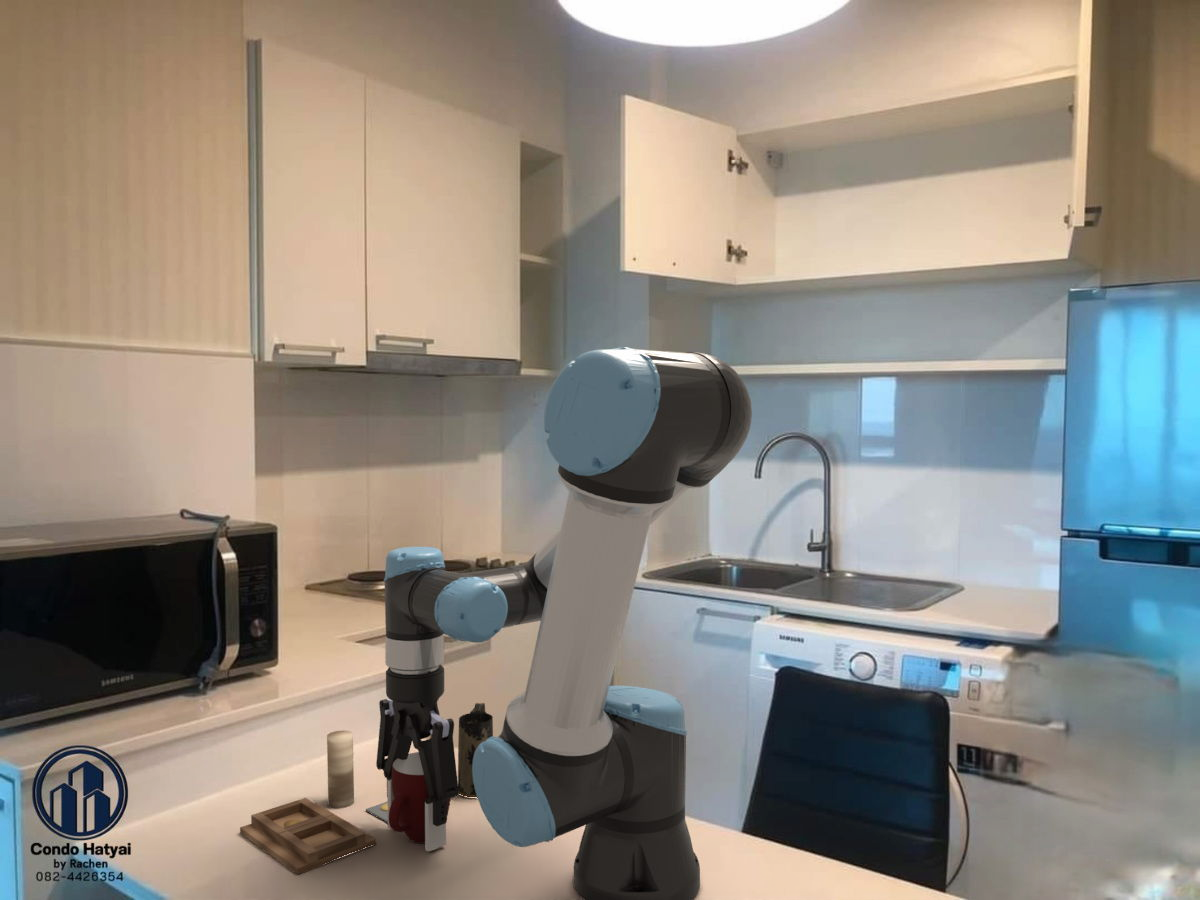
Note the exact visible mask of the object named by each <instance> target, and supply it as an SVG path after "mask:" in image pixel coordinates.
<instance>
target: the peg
mask: <svg viewBox="0 0 1200 900" xmlns="http://www.w3.org/2000/svg"><path fill="white" fill-rule="evenodd" d="M326 746H327V747H326V750H327V751H326V753H327V758H326V759H327V801H328V802H327V805H328V807H330V808H332V807H333V808H332V809H343V808H342V807H345V808H347V806H348V807H351V806H352V805H353V804H354V803H355V776H354V774H355V773H354V770H355V769H354V768H355V767H354V732H353V731H351V730H345V729H344V730H336V731H332V732H330V733H327V735H326Z"/></svg>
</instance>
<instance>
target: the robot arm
mask: <svg viewBox="0 0 1200 900" xmlns="http://www.w3.org/2000/svg"><path fill="white" fill-rule="evenodd" d="M752 416H753V411H752V402H751V395H750V394H749V389H748V388H747V386H746V383H744V381H743V379H742V377H741V376H740V375H739V374H738V372H736V370H735V369H734V368H732V366H730V365H729V364H728V363H727V362H725V361H723V360H722V359H720V358H718V357H717V356H714V355H711V354H707V353H704V352H696V351H685V352H682V351H667V350H653V349H639V348H638V349H637V348H630V347H628V346H625V347H624V346H623V347H615V348H610V349H609V348H608V349H595V350H590V351H589V350H588V351H587V352H584V353H581V354H580V355H579V356H577V357H576V358H575V359H573V360H571V361H570V362H569V363H567V365H565V366H564V367H563V368H562V370H561V371H560V372H559V374H557V377H556V378H555V379H554V382H553V383H552V385H551V388H550V390H549V393H548V395H547V399H546V403H545V408H544V416H543V430H544V432H545V433H547V434H549V435H548V438H547V439H546V441H545V442H546V444H547V448H548V450H549V452H550V454H551V456H552V458H553V459H554V460H555V462H557V463H558V468H557V476H558V478H559V479H560V481H561V482H562V484H563V485H564V487H565V488H566V490H567V491H568V495H567V500H566V504H565V508H564V513H563V518H562V522H561V525H560V528H558V530H557V531H556V532H555V533H554V534H553V535H552V536H551V537H550V538H549V539H548V540H547V541H546V542H545V544H543V546H542V547H541V548H540V549H539V550H538V551H537V552H536V553H535V554H534V555H533V556H532V557H531V558H529V560H528V561H526V562H525V563H523V564H518V565H512V566H504V567H500V568H494V569H493V568H492V569H485V570H479V571H471V572H464V573H463V572H462V573H460V572H452V571H449V570H446V569H445V568H446V564H445V561H444V554H443V553H442V550H441V549H440V548H436V547H433V546H407V547H406V546H405V547H398V548H396V549H392V550H391V551H390V552H389V553H387V555H386V557H385V572H384V573H385V575H384V578H383V583H384V612H385V613H384V614H385V616H384V617H385V618H384V619H385V637H384V638H385V641H384V642H385V649H384V650H385V653H384V654H385V656H384V658H385V659H384V660H385V661H384V662H385V665H386V666H387V667H388V668H387V669H386V670H385V694H386V697H387V698H385V699H380V701H379V702H378V705H379V715H380V721H379V729H378V730H379V732H378V741H377V752H376V753H377V754H376V762H375V763H376V764H375V765H376V768H377V770H379V771H381V770H382V771H383V775H384V778H385V779H386V797H387V801H388V823H387V828H388V829H390V830H393V829H392V828H391V827H390V824H389V810H390V806H391V804H392V801H393V800H394V794H393V789H392V764H393V762H394V761H395V760H396V759H398V758H399V759H401V760H406V759H407V758H408V754H410V750H411V747H412V745H413V748H414V749H416V750H417V752H419V756H420V760H421V765H422V769H423V773H424V777H425V782H426V786H427V790H428V795H429V798H428V799H426V800H425V843H424V850H425V851H426V852H431V851H434V850H436V849H439V848H441V847H443V846H446V845H447V823H448V816H447V799H450V798H451V799H452V798H456V797H458V796H459V791H458V771H457V764H456V763H457V762H456V756H455V746H454V730H455V722H454V720H453V719H452V717H451V718H447V719H445V718H443V717H441V715H440V711H439V708H438V706H439V705H438V701H439V699H440V698H441V697H442V696H443V695H444V693H445V668H444V666H443V663H444V661H445V654H444V653H445V652H444V651H445V649H444V648H445V647H444V645H445V644H444V642H445V641H444V635H445V636H448V637H450V638H452V639H454V640H458V641H461V642H469V643H483V642H487V641H489V640H491V639H492V638H493V637H494V636H495V635H497V634H498V633H499V632H500V631H501V630H503V629H505V628H511V627H513V626H519V625H524V624H529V623H534V622H540V623H539V628H538V632H537V636H536V637H537V638H536V641H535V645H534V650H533V655H532V659H531V665H530V669H529V672H528V678H527V683H526V687H525V691H524V692H521V693H519V694H517V695H516V696H515V697H513V698H512V699H511V700H510V702H509V704H508V705H507V707H506V708H507V709H506V712H505V716H504V721H503V725H502V729H501V733H500V734H499V735H498V736H493V737H490V738H488V739H487V740H486V741H484V742H482V743H481V744H480V745H479V746H478V747H477V749H476V751H475V753H474V757H473V764H472V774H473V782H474V788H475V792H476V795H477V798H478V799H477V800H478V802H479V806H480V808H481V811H482V813H483V814H484V817H485V818H486V820H487V822H488V824H489V825H490V826H491V828H492V829H493V830H494V831H495V833H497V835H498V836H499V837H500V838H502V840H504V841H505V842H507V843H508V844H510V845H513V846H516V847H520V848H524V847H525V848H526V847H531V846H533V845H534V846H535V845H537V844H540V843H544V842H545V843H548V842H550V841H553V840H554V839H556V838H558V837H560V836H562V835H565V834H567V833H570V832H572V831H575V830H576V829H580V828H582V827H583V826H584V831H583V833H582V836H581V840H580V844H579V848H578V852H577V853H576V856H575V858H574V861H573V888H574V891H576V893H577V894H578V895H577V896H579V897H580V898H581V900H693V899H694V898H696V896H697V895H698V893H699V891H700V887H701V868H700V866H701V865H700V861H699V859H698V858H699V857H698V856H697V855H696V853H695V851H694V848H693V843H692V838H691V834H690V831H689V827H688V823H687V822H686V770H687V769H686V766H687V765H686V762H687V760H686V758H687V757H686V756H687V755H686V754H687V751H686V750H687V748H686V747H687V744H686V743H687V740H686V739H687V734H688V732H687V730H686V721H685V717H686V716H685V709H684V706H683V704H682V702H680V700H678V698H677V697H675V696H673V695H671V694H670V693H666V692H664V691H661V690H657V689H652V688H646V687H640V686H633V685H632V686H631V685H611V683H612V679H613V674H614V669H615V666H616V661H617V658H618V653H619V651H620V650H619V649H620V645H621V641H622V638H623V633H624V630H625V629H624V628H625V625H626V621H627V618H628V617H627V616H628V614H629V610H630V605H631V601H632V598H633V593H634V590H635V586H636V585H635V584H636V581H637V577H638V573H639V569H640V564H641V561H642V556H643V553H644V549H645V545H646V540H647V537H648V533H649V529H650V526H651V525H652V524H653V523H654V522H655V521H656V520H658V518H660V516H662V514H663V513H665V512H666V510H668V509H669V508H670V507H671V506H672V505H673V504H674V503H675V502H676V501H678V499H679V498H680V497H682V495H683V494H685V493H686V492H687V491H688V490H689V489H701V488H703V487H705V486H707V485H708V484H709V483H710V482H711V481H713V479H714V478H716V476H718V475H719V474H721V472H722V471H723V470H724V469H725V468H726V467H727V466H728V465H729V464H730V463H731V462H732V461H733V460H734V458H735V457H736V456H737V455H738V454H739V452H740V450H741V449H742V448H743V446H744V445H745V442H746V440H747V438H748V435H749V433H750V430H751V424H752ZM430 736H431V737H430ZM426 738H428V739H426ZM423 739H426V740H423ZM436 789H437V791H436ZM399 824H400V823H399ZM400 826H401V825H400Z"/></svg>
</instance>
